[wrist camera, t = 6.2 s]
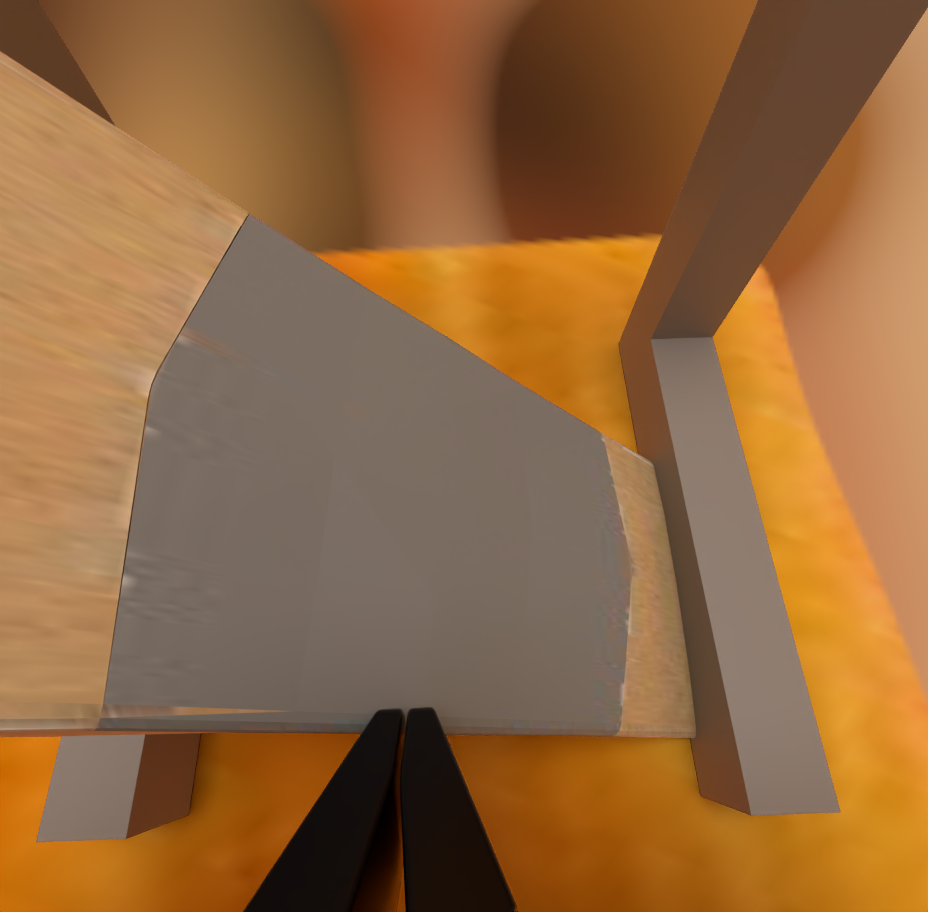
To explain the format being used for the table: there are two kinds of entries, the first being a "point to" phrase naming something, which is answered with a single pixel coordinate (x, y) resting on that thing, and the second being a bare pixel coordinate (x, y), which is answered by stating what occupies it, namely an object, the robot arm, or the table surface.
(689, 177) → the grey frame stand
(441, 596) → the sandwich container
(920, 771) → the table surface
